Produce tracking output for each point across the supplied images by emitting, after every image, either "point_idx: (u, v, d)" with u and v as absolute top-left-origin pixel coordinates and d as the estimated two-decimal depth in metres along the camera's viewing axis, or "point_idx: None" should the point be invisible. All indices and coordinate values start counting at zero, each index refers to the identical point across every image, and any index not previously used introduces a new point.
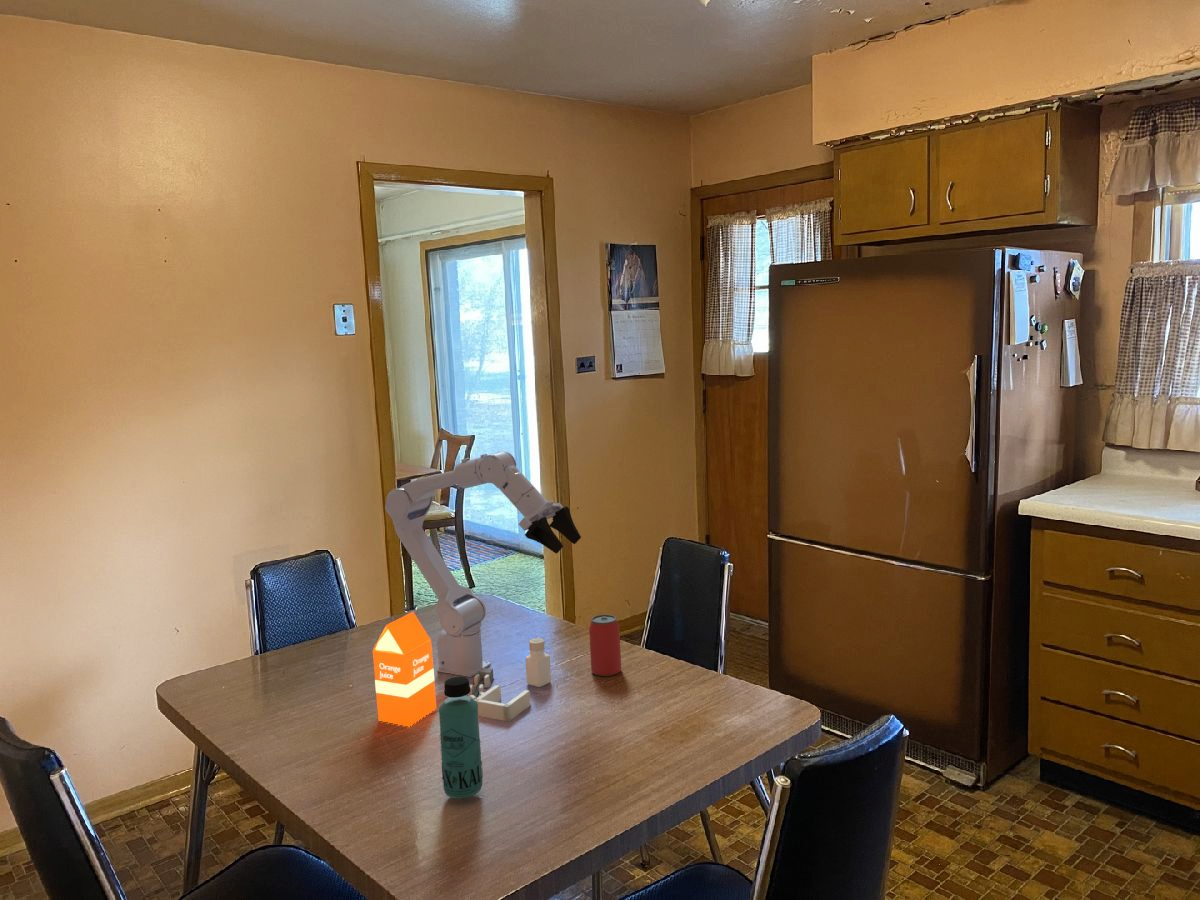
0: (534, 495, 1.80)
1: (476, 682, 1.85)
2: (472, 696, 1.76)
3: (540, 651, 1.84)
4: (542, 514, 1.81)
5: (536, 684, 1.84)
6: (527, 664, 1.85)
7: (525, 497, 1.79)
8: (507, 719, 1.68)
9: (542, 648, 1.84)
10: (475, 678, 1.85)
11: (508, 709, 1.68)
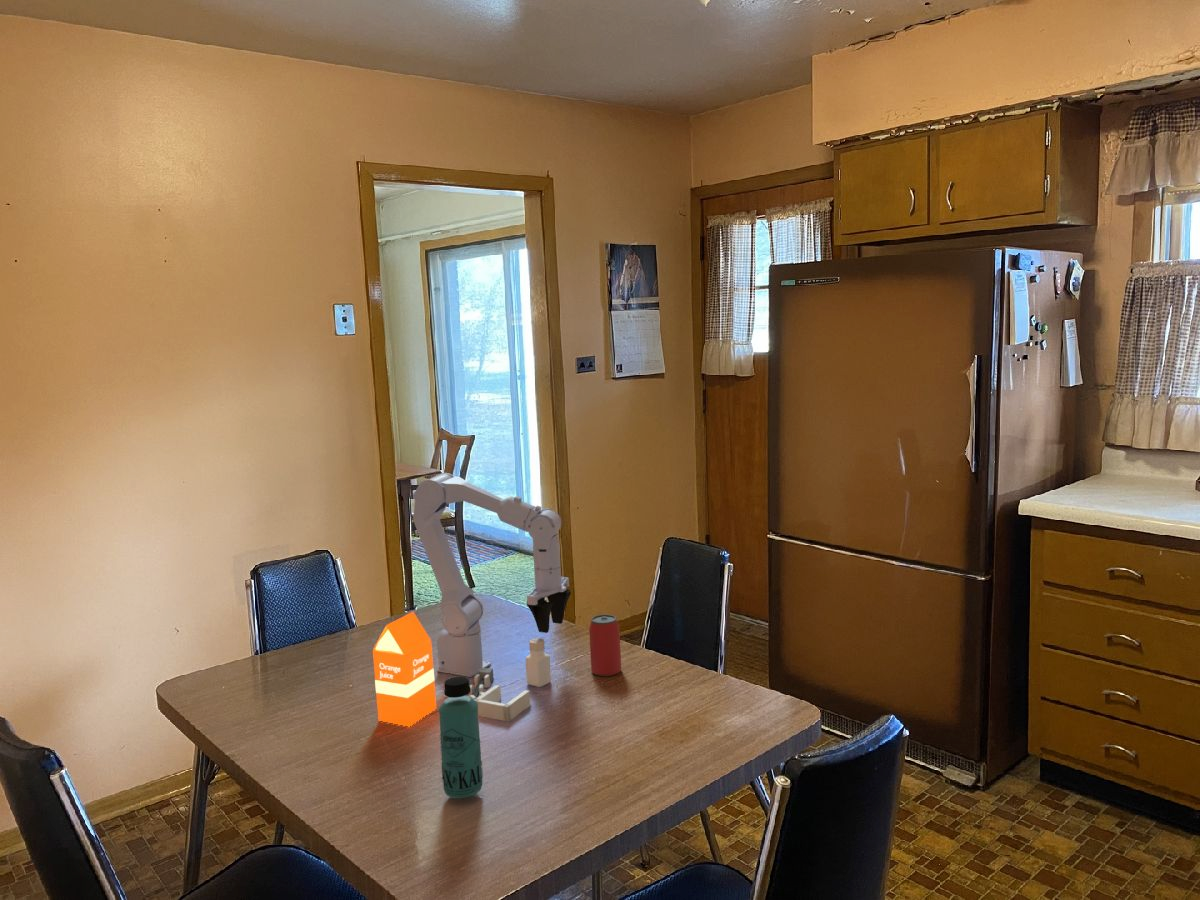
0: (555, 575, 1.86)
1: (476, 682, 1.85)
2: (472, 696, 1.76)
3: (540, 651, 1.84)
4: None
5: (536, 684, 1.84)
6: (527, 664, 1.85)
7: (547, 572, 1.85)
8: (507, 719, 1.68)
9: (542, 648, 1.84)
10: (475, 678, 1.85)
11: (508, 709, 1.68)
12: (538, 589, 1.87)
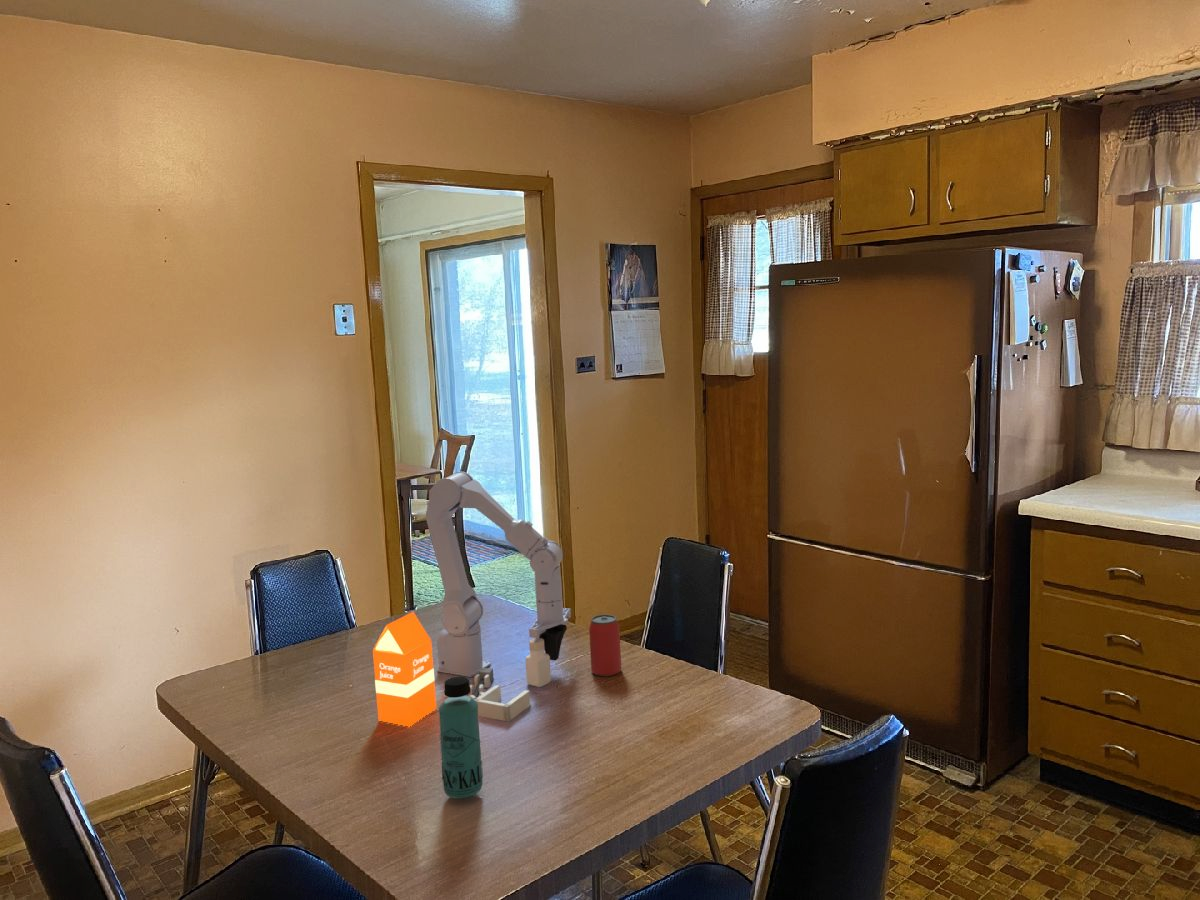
0: (557, 608, 1.87)
1: (476, 682, 1.85)
2: (472, 696, 1.76)
3: (540, 651, 1.84)
4: None
5: (536, 684, 1.84)
6: (527, 664, 1.85)
7: (549, 605, 1.86)
8: (507, 719, 1.68)
9: (542, 648, 1.84)
10: (475, 678, 1.85)
11: (508, 709, 1.68)
12: (540, 621, 1.88)
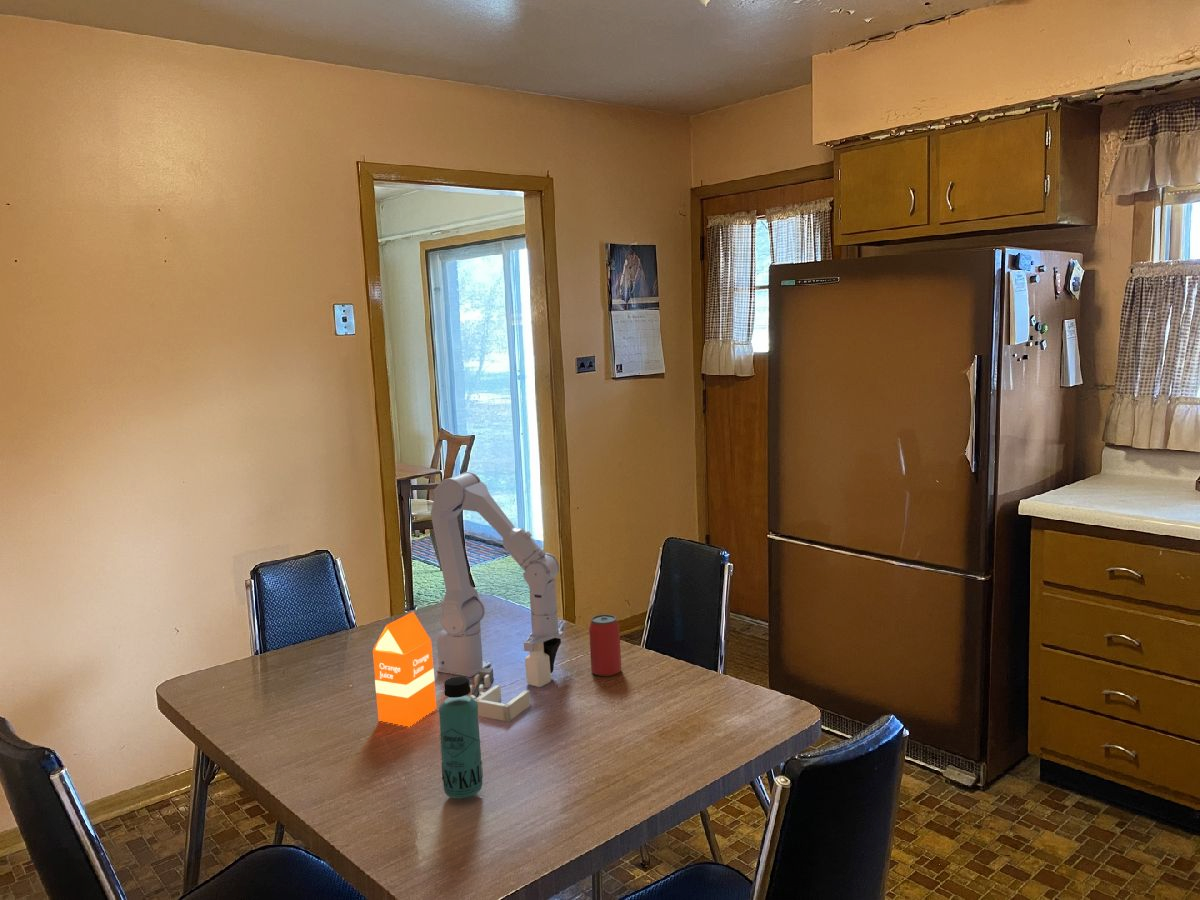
0: (552, 621, 1.85)
1: (476, 682, 1.85)
2: (472, 696, 1.76)
3: (540, 651, 1.83)
4: None
5: (536, 684, 1.84)
6: (527, 664, 1.84)
7: (544, 618, 1.84)
8: (507, 719, 1.68)
9: (541, 648, 1.84)
10: (475, 678, 1.85)
11: (508, 709, 1.68)
12: (535, 635, 1.86)
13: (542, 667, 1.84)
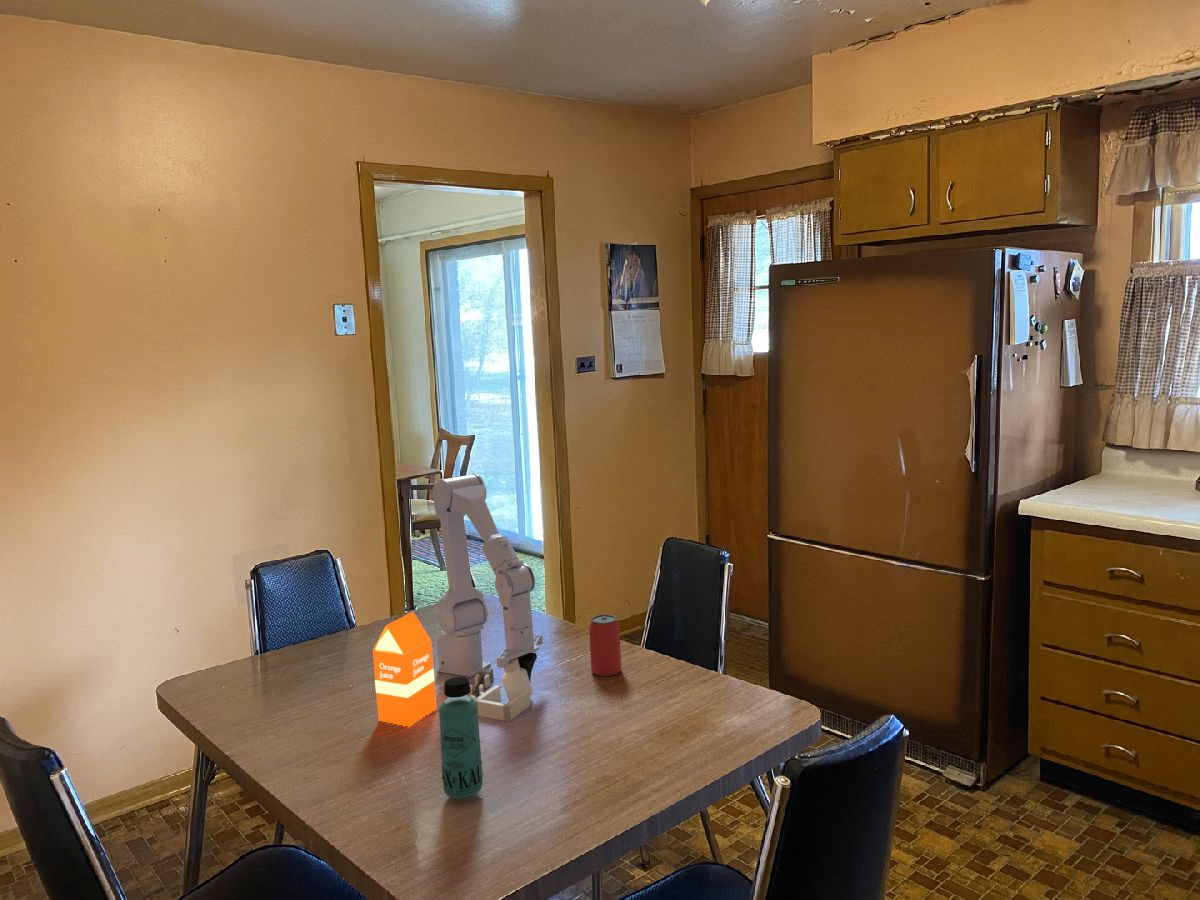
0: (527, 634, 1.76)
1: (476, 682, 1.85)
2: (472, 696, 1.76)
3: (516, 670, 1.74)
4: None
5: None
6: (505, 684, 1.75)
7: (518, 632, 1.75)
8: (507, 719, 1.68)
9: (517, 666, 1.74)
10: (475, 678, 1.85)
11: (508, 709, 1.68)
12: (509, 650, 1.76)
13: (522, 684, 1.75)
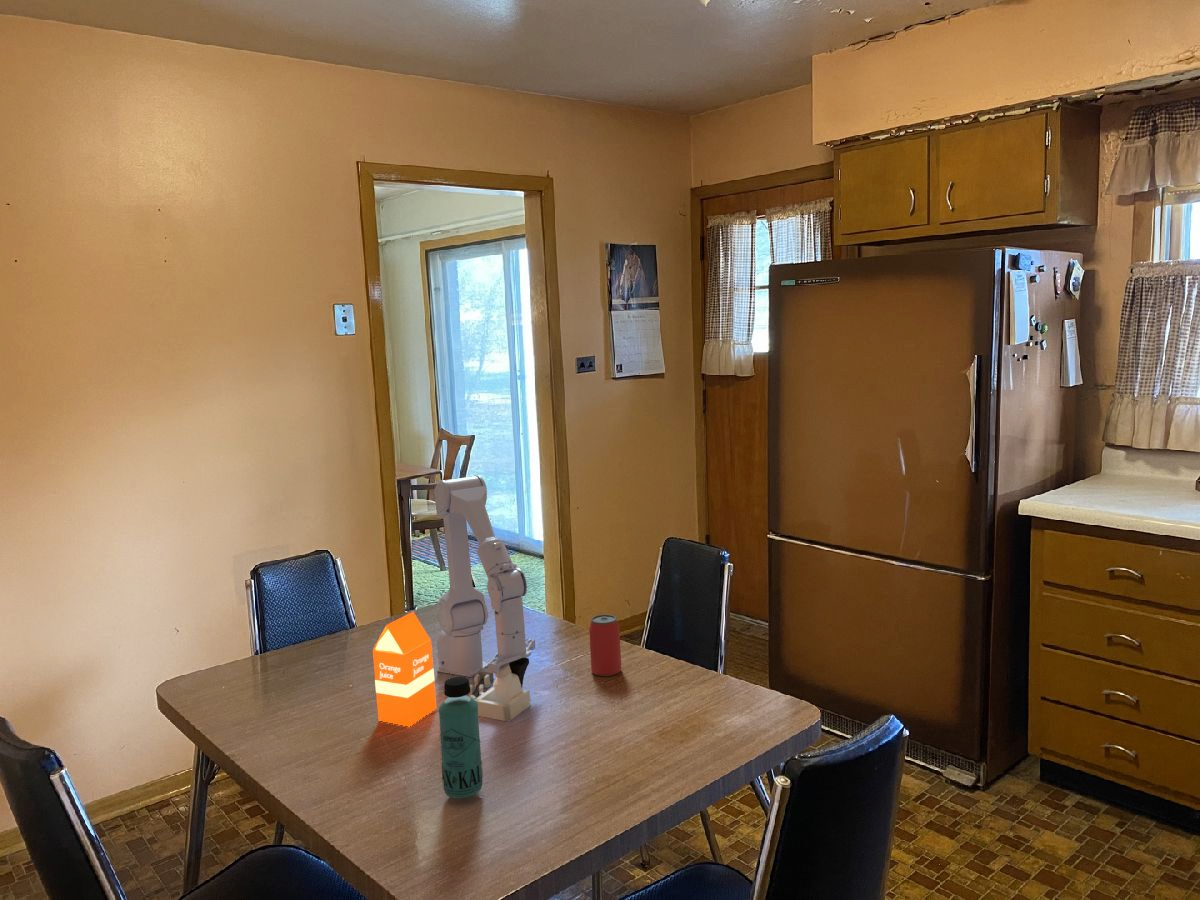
0: (519, 639, 1.73)
1: (476, 682, 1.85)
2: (472, 696, 1.76)
3: (508, 676, 1.71)
4: None
5: None
6: (497, 690, 1.73)
7: (510, 637, 1.72)
8: (507, 719, 1.68)
9: (509, 672, 1.72)
10: (475, 678, 1.85)
11: (508, 709, 1.68)
12: (501, 655, 1.74)
13: (514, 690, 1.72)
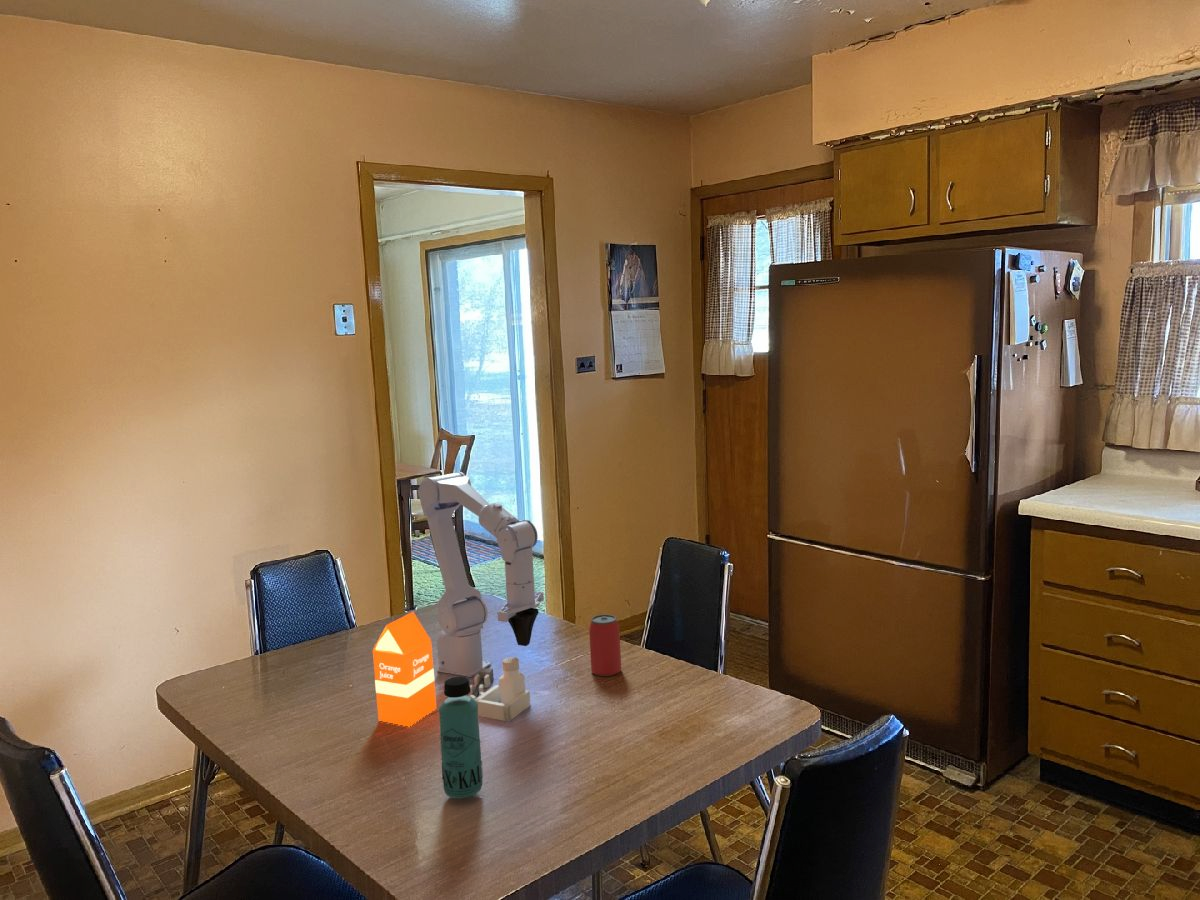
0: (528, 590, 1.76)
1: (476, 682, 1.85)
2: (472, 696, 1.76)
3: (515, 671, 1.74)
4: None
5: None
6: (501, 685, 1.74)
7: (519, 587, 1.76)
8: (507, 719, 1.68)
9: (517, 668, 1.74)
10: (475, 678, 1.85)
11: (508, 709, 1.68)
12: (510, 604, 1.77)
13: (518, 687, 1.74)
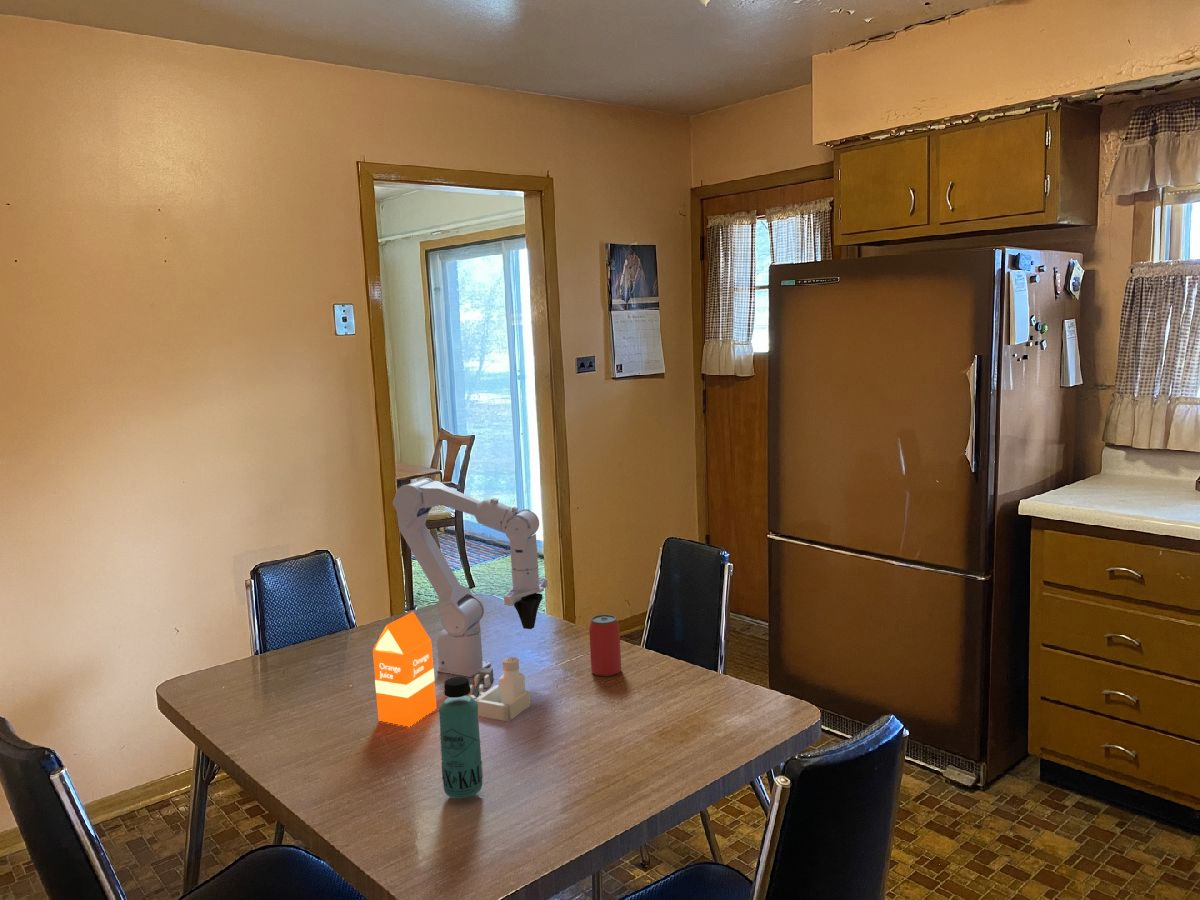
0: (532, 576, 1.86)
1: (476, 682, 1.85)
2: (472, 696, 1.76)
3: (515, 671, 1.74)
4: None
5: None
6: (501, 685, 1.74)
7: (525, 573, 1.86)
8: (507, 719, 1.68)
9: (517, 668, 1.74)
10: (475, 678, 1.85)
11: (508, 709, 1.68)
12: (515, 590, 1.87)
13: (518, 687, 1.74)
